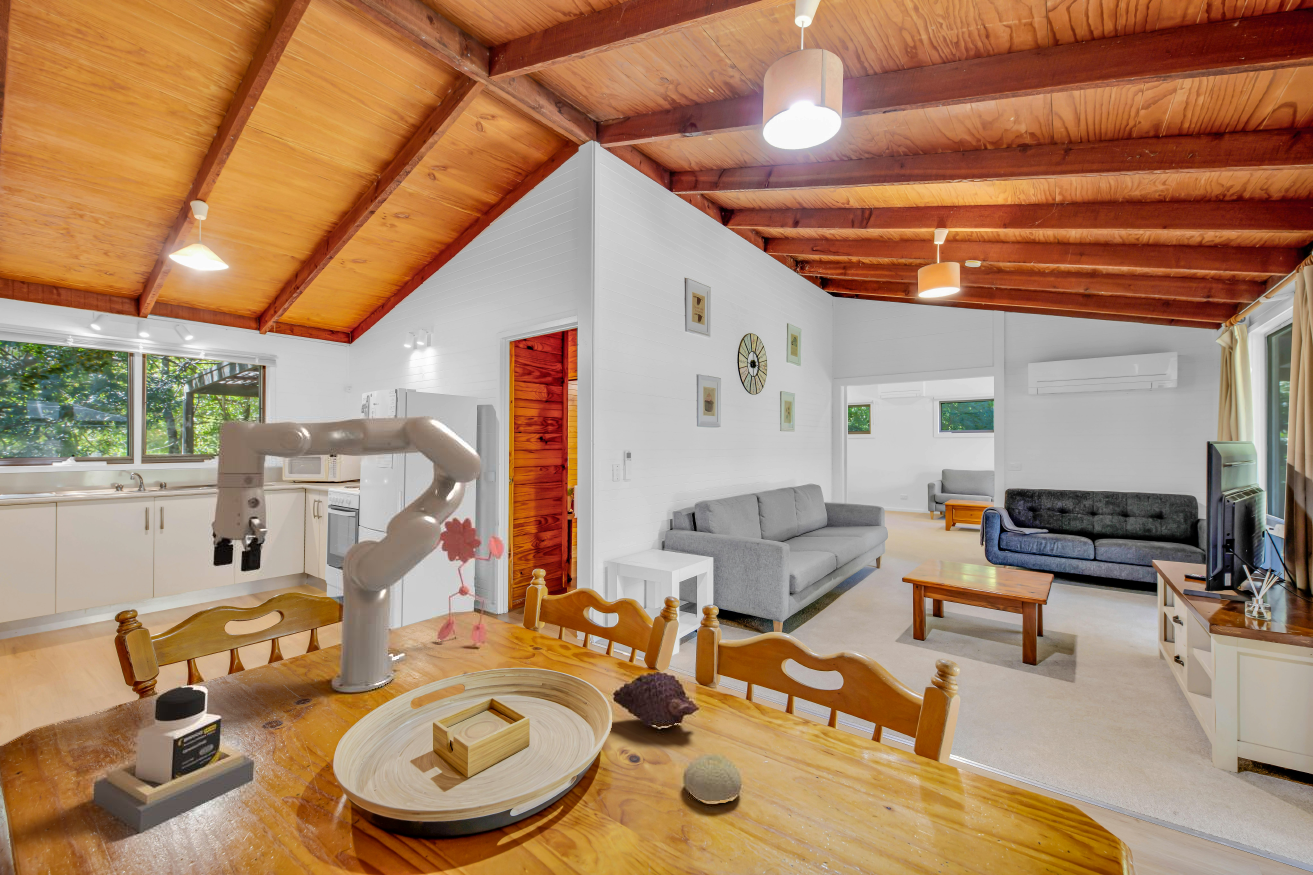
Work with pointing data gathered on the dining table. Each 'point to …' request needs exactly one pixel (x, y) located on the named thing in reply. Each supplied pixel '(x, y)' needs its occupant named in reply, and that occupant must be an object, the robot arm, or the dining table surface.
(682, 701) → the purple conch shell
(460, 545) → the flower headed figure
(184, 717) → the medicine bottle
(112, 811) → the pedestal
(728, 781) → the sea urchin shell
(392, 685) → the dining table surface
